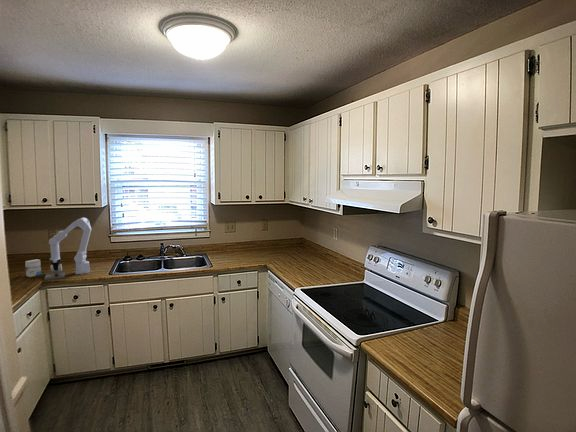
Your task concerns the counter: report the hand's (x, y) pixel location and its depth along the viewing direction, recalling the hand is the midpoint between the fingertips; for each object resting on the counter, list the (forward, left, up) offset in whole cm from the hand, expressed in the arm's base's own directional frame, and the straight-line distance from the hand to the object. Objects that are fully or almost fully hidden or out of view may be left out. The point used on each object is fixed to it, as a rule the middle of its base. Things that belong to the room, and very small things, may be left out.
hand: (56, 269), depth 269 cm
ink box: (+15, -3, -4) cm, 16 cm away
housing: (0, 0, -2) cm, 2 cm away
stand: (0, +11, -3) cm, 12 cm away
